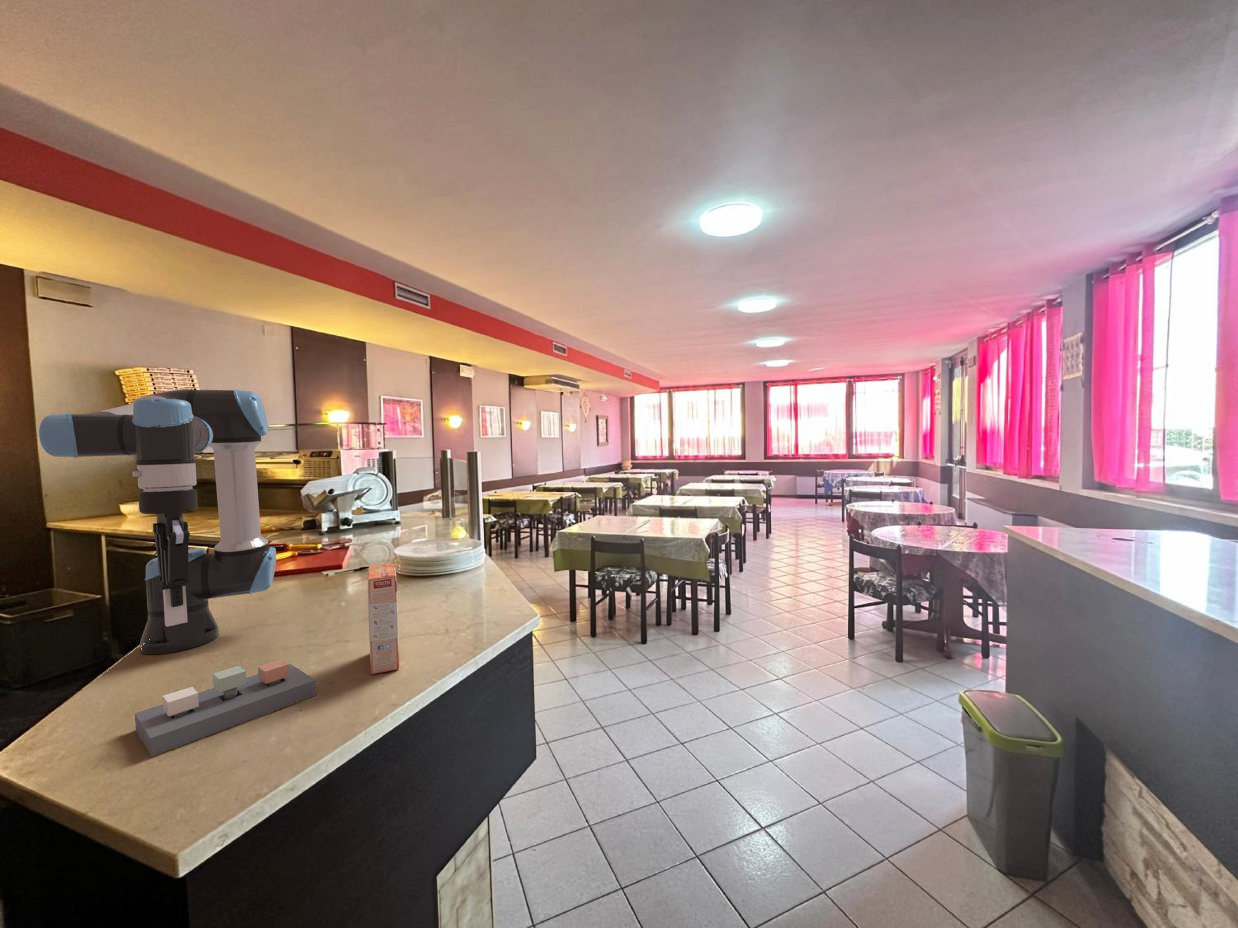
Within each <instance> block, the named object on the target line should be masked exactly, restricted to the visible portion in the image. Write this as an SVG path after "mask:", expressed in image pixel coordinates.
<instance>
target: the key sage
mask: <svg viewBox="0 0 1238 928" xmlns="http://www.w3.org/2000/svg"><path fill="white" fill-rule="evenodd" d="M246 678H247V671H246V670H245V669H244V668H242V667H241V666H240V665H237V666H234V667H230V668H226V669H224V670H221V671H216V672H213V673H212V684H213V685H212V686H213V688H216V689H217V690H218V691H219V692H223V693H224V701H226V700H229V699H232V698H235V697H237V687H238V686H241V685H244V684H246Z"/></svg>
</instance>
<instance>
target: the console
mask: <svg viewBox="0 0 1238 928" xmlns="http://www.w3.org/2000/svg"><path fill="white" fill-rule="evenodd" d="M288 664H289V676H288V677H285V678H282V679H280V682H279V683H276V684H273V685H270V686H268V683H267V684H265V683H264V682H262V681H261V680H260V679H259V678H258V673H257V674H254V675H251V676H246V684H244V685H241V686H238V687H237V697H235V698H232V699H229V700H226V701H224V693H223V692H219V691H218V690H217V689H216V688H215V687H213V688H210V689H207V690H204V691H200V692H198V700H199V707H196V708H193V709H190V710H189V713H187V714H184V715H181V716H178V717H175V718H174V715H172V716H168V715H167V714H166V712H165V711H164V710H163V703H162V704H159V705H156V706H153V707H149V708H147V709H144V710H141V711H137V712H134V721H135V731H136V733H137V735H138V736H139V738H140V740H141V741H142V742H143V744H144V746H145V748H146V750H147V752H148V754H149V755H150V757H155V756H158V755H160V754H163V753H165V752H168V751H170V750H173V749H176V748H179V747H181V746H184V745H187V744H189V743H192V742H195V741H197V740H201V739H203V738H205V737H207V736H208V737H209V736H211V735H213V734H215V733H216V734H217V733H219V732H222V731H224V730H226V729H231V728H232V727H234V726H237V725H240V724H243V723H245V722H249V721H252V720H253V719H257V718H259V717H262V716H265V715H267V714H270V713H273V712H275V711H277V710H279V709H280V710H281V709H282V708H283V709H284V708H286V707H288V706H290V705H293V704H297V703H299V702H302V701H304V700H306V699H309V698H312V697H314V696H317V682H316V679H315V678H313V677H311V676H310V675H309V674H307V673H306V672H304V671H302V670H301V669H300V668H298V667H296V666H295V665H293V664H291V663H288Z"/></svg>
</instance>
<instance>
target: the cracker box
mask: <svg viewBox="0 0 1238 928" xmlns="http://www.w3.org/2000/svg"><path fill="white" fill-rule="evenodd" d="M395 564H396V563H385V564H378V565H371V566H368V575H367V601H368V603H367V605H368V607H367V608H368V632H369V633H368V635H369V656H370V657H369V663H370V674H371V675H377V674H381V673H386V672H387V673H388V672H393V671H397V670H399V669H400V651H399V650H400V647H399V646H400V645H399V644H400V642H399V609H398V606H399V605H398V601H399V600H398V580H397V572H396V565H395Z"/></svg>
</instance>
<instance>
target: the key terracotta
mask: <svg viewBox="0 0 1238 928" xmlns="http://www.w3.org/2000/svg"><path fill="white" fill-rule="evenodd" d="M289 664H290V663H287V662H286V661H284V660H283V659H278V660H274V661H271V662H268V663H265V664H261V665H258V666H257V674H258V678H259V679H260V680H261V681H262V682H264V683H265V684H267V683H268V686H270V685H273V684H276V683H279V682H280V679H282V678H285V677H288V676H289Z"/></svg>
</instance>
